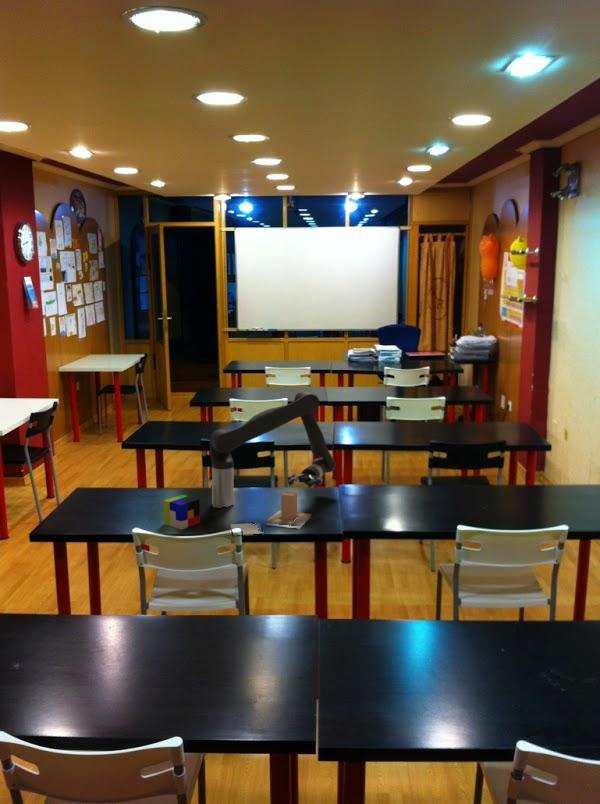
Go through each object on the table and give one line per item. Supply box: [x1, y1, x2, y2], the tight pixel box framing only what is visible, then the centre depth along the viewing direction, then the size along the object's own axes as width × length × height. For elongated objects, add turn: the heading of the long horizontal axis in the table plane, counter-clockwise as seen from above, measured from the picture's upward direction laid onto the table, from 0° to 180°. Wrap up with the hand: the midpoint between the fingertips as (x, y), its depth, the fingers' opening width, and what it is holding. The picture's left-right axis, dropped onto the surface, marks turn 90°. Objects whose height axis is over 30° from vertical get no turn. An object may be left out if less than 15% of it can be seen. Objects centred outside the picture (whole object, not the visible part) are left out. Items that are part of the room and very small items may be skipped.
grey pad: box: [229, 522, 264, 537], centre depth 280 cm, size 12×12×1 cm
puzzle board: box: [266, 509, 312, 526], centre depth 289 cm, size 14×14×2 cm
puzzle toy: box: [163, 494, 201, 530], centre depth 286 cm, size 10×10×10 cm
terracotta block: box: [280, 490, 298, 521], centre depth 289 cm, size 5×5×12 cm
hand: (299, 484), depth 298 cm, fingers open, 8 cm apart
